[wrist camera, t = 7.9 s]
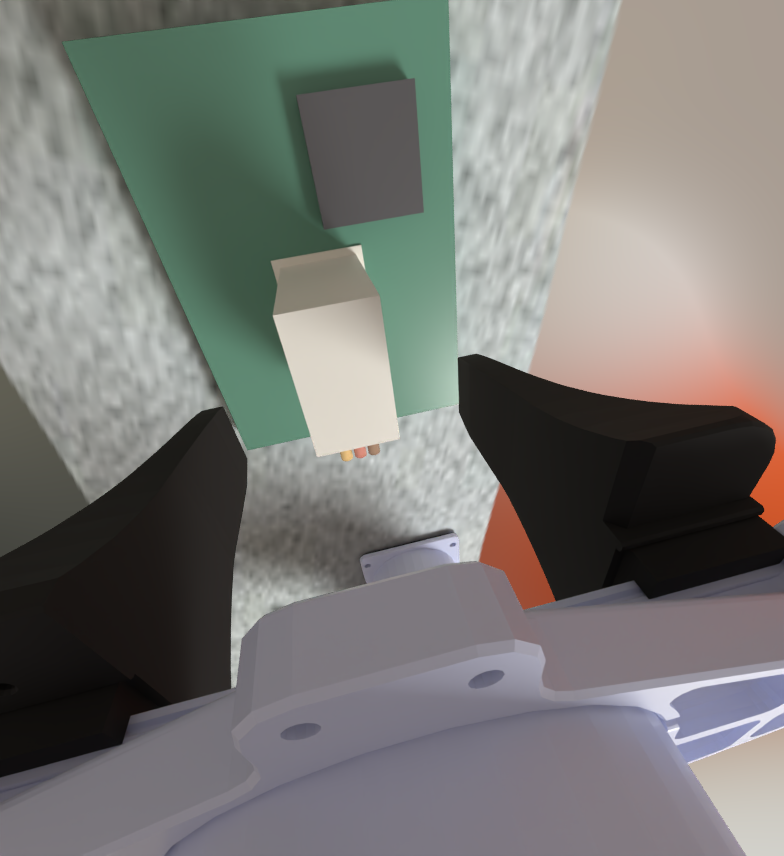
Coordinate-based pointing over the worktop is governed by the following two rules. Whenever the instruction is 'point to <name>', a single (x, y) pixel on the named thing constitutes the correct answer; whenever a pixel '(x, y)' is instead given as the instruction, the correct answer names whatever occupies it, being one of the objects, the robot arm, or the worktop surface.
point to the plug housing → (337, 355)
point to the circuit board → (292, 182)
